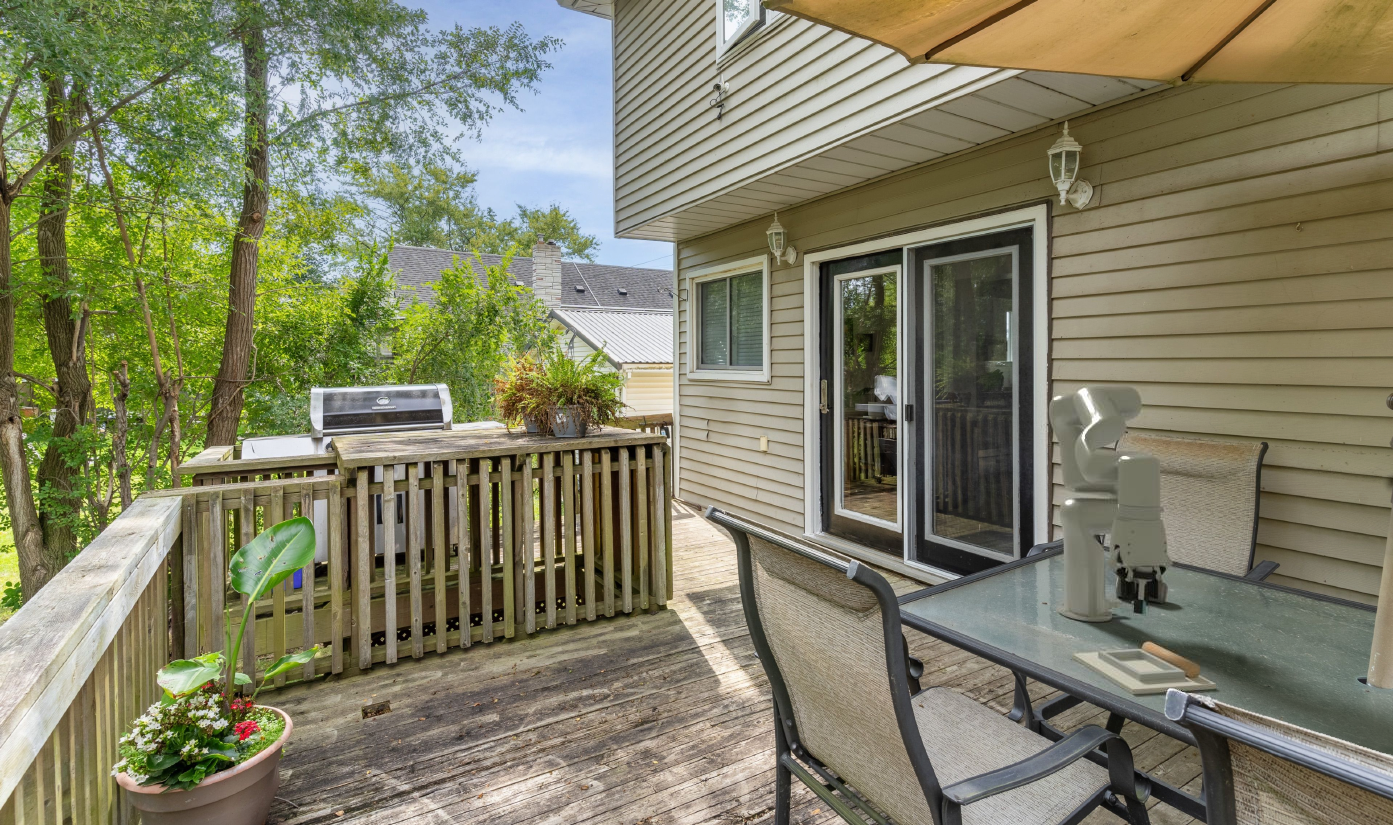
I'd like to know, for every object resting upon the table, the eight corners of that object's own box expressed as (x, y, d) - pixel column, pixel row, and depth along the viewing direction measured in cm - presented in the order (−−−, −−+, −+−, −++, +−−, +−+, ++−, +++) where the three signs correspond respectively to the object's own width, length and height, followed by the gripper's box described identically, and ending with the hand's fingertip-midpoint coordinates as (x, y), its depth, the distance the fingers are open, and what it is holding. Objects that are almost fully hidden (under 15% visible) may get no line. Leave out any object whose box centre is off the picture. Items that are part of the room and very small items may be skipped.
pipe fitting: (1112, 597, 186) (1117, 562, 186) (1117, 593, 192) (1122, 559, 192) (1163, 610, 178) (1168, 574, 178) (1166, 605, 184) (1171, 570, 184)
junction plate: (1146, 653, 148) (1146, 636, 147) (1216, 688, 130) (1215, 669, 130) (1072, 657, 146) (1072, 640, 146) (1132, 694, 128) (1132, 674, 128)
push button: (1124, 603, 142) (1126, 558, 141) (1154, 608, 139) (1156, 562, 138) (1125, 612, 136) (1127, 565, 136) (1156, 617, 133) (1158, 570, 133)
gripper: (1161, 508, 141) (1162, 590, 142) (1089, 511, 140) (1090, 594, 140) (1190, 514, 134) (1191, 601, 134) (1114, 517, 133) (1115, 605, 133)
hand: (1139, 596), depth 137 cm, fingers closed on push button, 4 cm apart
